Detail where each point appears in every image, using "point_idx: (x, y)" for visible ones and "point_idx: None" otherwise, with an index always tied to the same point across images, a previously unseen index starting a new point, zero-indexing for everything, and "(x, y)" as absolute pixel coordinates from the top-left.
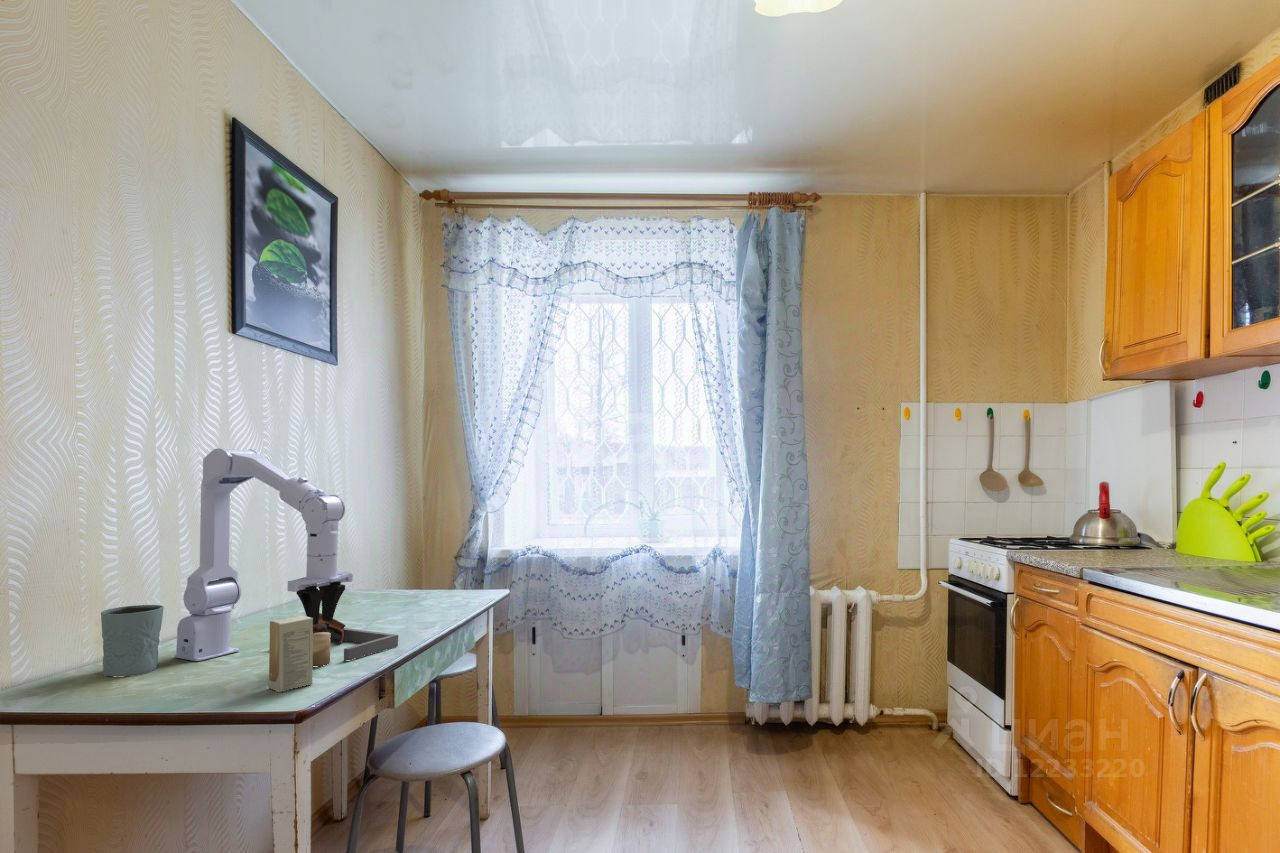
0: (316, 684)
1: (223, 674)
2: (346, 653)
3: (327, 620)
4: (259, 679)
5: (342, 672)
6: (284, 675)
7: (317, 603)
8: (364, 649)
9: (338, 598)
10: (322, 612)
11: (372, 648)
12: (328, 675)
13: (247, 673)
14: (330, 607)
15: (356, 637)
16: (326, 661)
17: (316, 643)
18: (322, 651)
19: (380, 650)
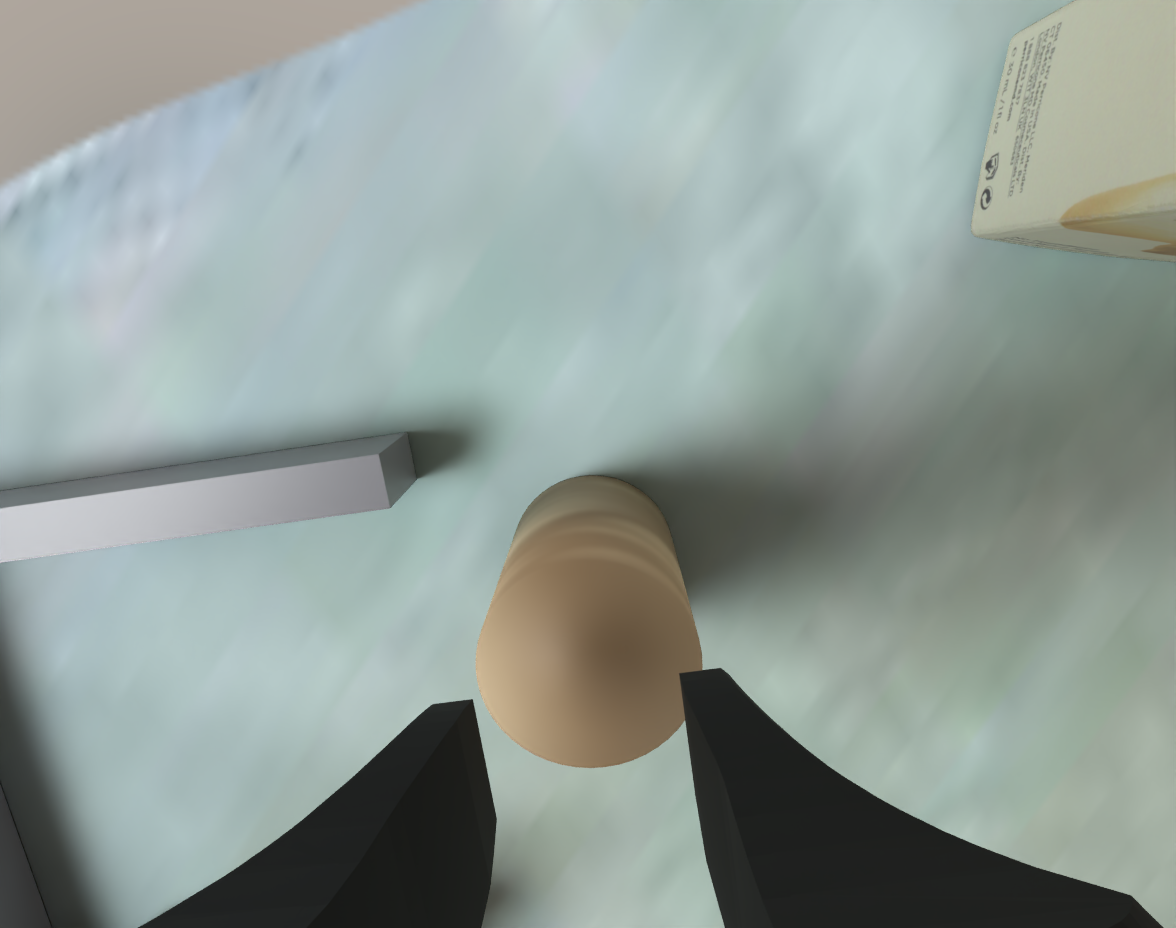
0: (976, 26)
1: (1118, 862)
2: (394, 466)
3: (480, 741)
4: (1089, 548)
5: (630, 173)
6: None
7: (822, 815)
8: (204, 469)
9: (231, 891)
10: (479, 911)
11: (115, 482)
12: (750, 192)
13: (1024, 758)
14: (420, 836)
15: (8, 913)
16: (577, 486)
17: (670, 572)
18: (617, 515)
19: (48, 484)
